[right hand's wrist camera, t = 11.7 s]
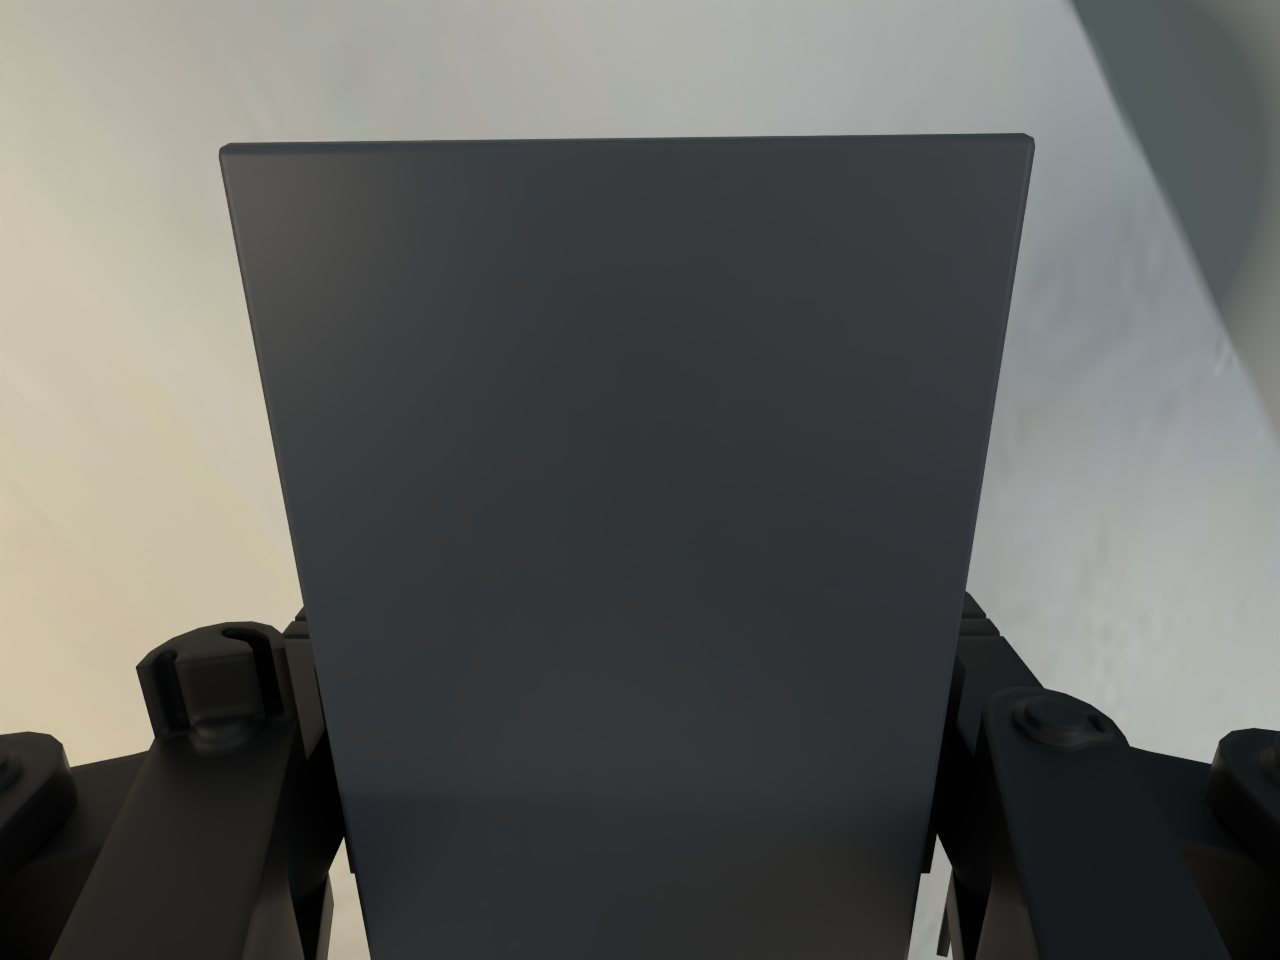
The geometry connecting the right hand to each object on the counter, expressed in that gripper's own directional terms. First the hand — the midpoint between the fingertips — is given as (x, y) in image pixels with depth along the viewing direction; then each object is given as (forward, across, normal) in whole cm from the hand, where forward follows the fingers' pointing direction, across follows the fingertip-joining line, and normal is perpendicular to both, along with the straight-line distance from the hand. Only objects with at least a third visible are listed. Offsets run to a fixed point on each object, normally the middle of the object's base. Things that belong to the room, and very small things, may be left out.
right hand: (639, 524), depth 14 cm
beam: (+1, 0, -36) cm, 36 cm away
